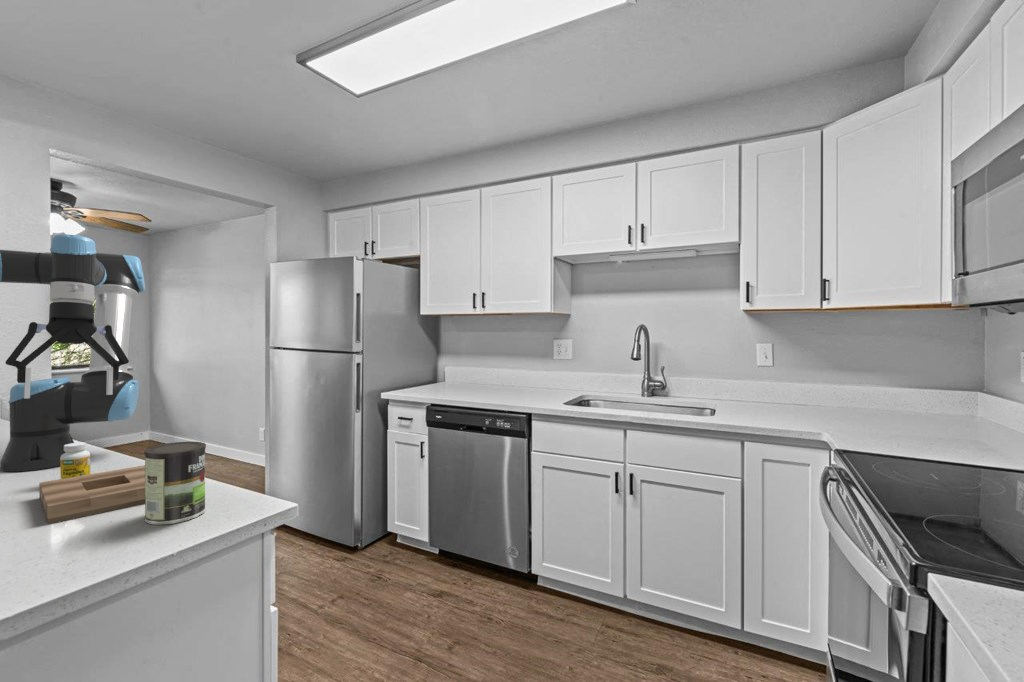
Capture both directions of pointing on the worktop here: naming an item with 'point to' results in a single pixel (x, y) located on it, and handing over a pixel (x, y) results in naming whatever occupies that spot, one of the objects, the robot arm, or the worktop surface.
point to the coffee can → (174, 482)
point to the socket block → (92, 493)
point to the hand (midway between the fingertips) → (70, 396)
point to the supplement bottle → (75, 461)
